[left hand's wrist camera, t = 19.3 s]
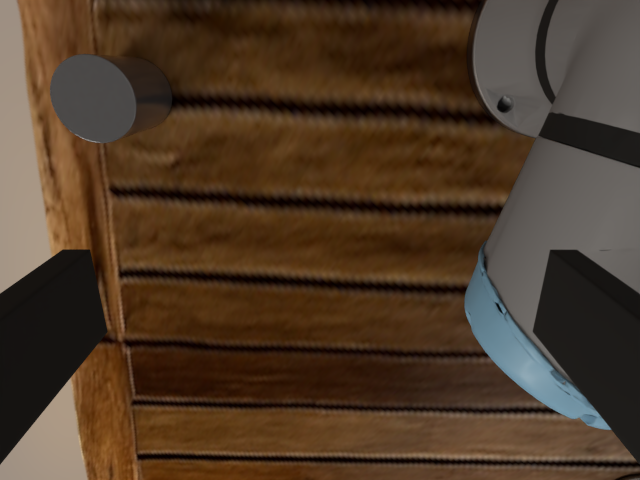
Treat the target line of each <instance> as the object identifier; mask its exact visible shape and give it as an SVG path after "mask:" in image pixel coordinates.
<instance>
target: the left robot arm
mask: <svg viewBox="0 0 640 480" xmlns="http://www.w3.org/2000/svg"><path fill="white" fill-rule="evenodd" d="M467 67H468V74H469V79H470V83H471V86H472V89H473V91H474V93H475V96H476V98H477V99H478V101H479V103H480V105H481V106H482V107H483V109H484V110H485V111H486V112H487V113H488V115H489V116H490V117H491V118H493V119H494V120H495V121H496V122H497V123H499V124H500V125H502V126H503V127H505V128H507V129H509V130H511V131H514V132H517V133H520V134H523V135H526V136H529V137H533V138H536V140H535V142H534V144H533V146H532V148H531V150H530V152H529V154H528V156H527V159H526V161H525V163H524V165H523V167H522V169H521V171H520V173H519V176H518V178H517V180H516V182H515V184H514V186H513V188H512V190H511V192H510V195H509V197H508V199H507V201H506V203H505V205H504V207H503V209H502V212H501V214H500V216H499V218H498V220H497V222H496V224H495V226H494V228H493V231H492V233H491V235H490V237H489V239H488V241H485V242H484V243H483V245H482V246H481V249H480V251H479V256H478V263H477V265H476V268H475V271H474V273H473V276H472V278H471V281H470V283H469V286H468V288H467V291H466V294H465V312H466V315H467V318H468V321H469V323H470V324H471V328H472V332H473V333H474V335H475V337H476V339H477V340H478V342H479V343H480V345H481V346H482V348H483V349H484V350H485V352H486V353H487V354H488V355H489V356H490V358H491V359H492V360H493V361H494V362H495V363H496V364H497V365H498V366H499V367H500V368H501V369H502V370H503V371H504V372H505V373H506V374H507V375H508V376H509V377H510V378H511V379H512V380H513V381H515V382H516V383H517V384H518V385H519V386H520V387H522V388H523V389H524V390H525V391H527V392H528V393H529V394H531V395H532V396H534V397H535V398H536V399H538V400H539V401H541V402H542V403H544V404H545V405H547V406H548V407H550V408H552V409H553V410H555V411H557V412H559V413H561V414H563V415H565V416H567V417H569V418H571V419H576V418H580V419H582V420H583V421H584V422H585V423H586V424H587V425H588V426H592V427H595V428H600V429H605V430H612V431H613V432H614V433H615V434H616V436H617V437H618V438H619V439H620V441H621V442H622V443H623V444H624V446H625V447H626V448H627V449H628V451H629V452H630V453H631V454H632V455H633V457H634V458H635V459H636V460H637V462H638V463H639V464H640V0H481V2H480V4H479V6H478V9H477V11H476V13H475V16H474V19H473V22H472V25H471V29H470V33H469V38H468V45H467ZM548 139H549V140H548ZM552 140H553V141H552ZM555 141H556V142H555ZM558 142H559V143H558ZM561 143H562V144H561ZM568 145H569V146H568ZM571 146H572V147H571ZM574 147H575V148H574ZM606 157H607V158H606ZM609 158H610V159H609ZM106 333H107V327H106V322H105V318H104V313H103V308H102V304H101V299H100V294H99V290H98V285H97V280H96V276H95V271H94V266H93V262H92V257H91V253H90V250H62V251H60V252H59V253H57V254H56V255H55V256H53V257H52V258H50V259H49V260H48V261H46V262H45V263H43V264H42V265H41V266H39V267H38V268H36V269H35V270H33V271H32V272H30V273H29V274H28V275H26V276H25V277H23V278H22V279H20V280H19V281H18V282H16V283H15V284H13V285H12V286H11V287H9V288H8V289H6V290H5V291H3V292H2V293H1V294H0V464H1V463H2V462H3V460H4V459H5V458H6V457H7V455H8V454H9V453H10V452H11V450H12V449H13V448H14V447H15V446H16V444H17V443H18V442H19V441H20V439H21V438H22V437H23V436H24V434H25V433H26V432H27V431H28V430H29V428H30V427H31V426H32V425H33V423H34V422H35V421H36V420H37V418H38V417H39V416H40V415H41V413H42V412H43V411H44V410H45V408H46V407H47V406H48V405H49V404H50V402H51V401H52V400H53V399H54V397H55V396H56V395H57V394H58V392H59V391H60V390H61V389H62V387H63V386H64V385H65V384H66V382H67V381H68V380H69V379H70V378H71V376H72V375H73V374H74V373H75V371H76V370H77V369H78V368H79V366H80V365H81V364H82V363H83V362H84V360H85V359H86V358H87V357H88V355H89V354H90V353H91V352H92V350H93V349H94V348H95V347H96V345H97V344H98V343H99V342H100V341H101V339H102V338H103V337H104V336H105V334H106Z"/></svg>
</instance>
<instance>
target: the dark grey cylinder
mask: <svg viewBox="0 0 640 480" xmlns="http://www.w3.org/2000/svg"><path fill="white" fill-rule="evenodd" d="M50 95H51V101H52V105H53V107H54V110H55V112H56V114H57V116H58V117H59V119H60V120H61V122H62V123H63V124H64V125H65V126H66V127H67V128H68V129H69V130H70V131H71V132H72V133H74V134H75V135H77V136H78V137H80V138H82V139H85V140H87V141H90V142H95V143H108V142H113V141H115V140H118V139H121V138H124V137H127V136H130V135H133V134H136V133H138V132H141V131H144V130H147V129H150V128H153V127H155V126H157V125H159V124H160V123H162V122H163V121H164V120H165V118H166V117H167V116H168V114H169V112H170V109H171V105H172V93H171V88H170V85H169V83H168V80H167V79H166V77H165V75H164V74H163V73H162V71H161V70H160V69H159V68H158V67H156V66H155V65H154V64H152V63H151V62H149V61H147V60H145V59H142V58H138V57H124V56H109V55H94V54H79V55H74V56H72V57H69V58H68V59H66V60H64V61H63V62H62V63H61V64H60V65H59V66H58V67H57V69H56V70H55V72H54V74H53V77H52V80H51V85H50Z"/></svg>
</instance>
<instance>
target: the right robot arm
mask: <svg viewBox="0 0 640 480" xmlns="http://www.w3.org/2000/svg"><path fill="white" fill-rule="evenodd" d="M620 480H640V475H634V476H629V477H625V478H622V479H620Z"/></svg>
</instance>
